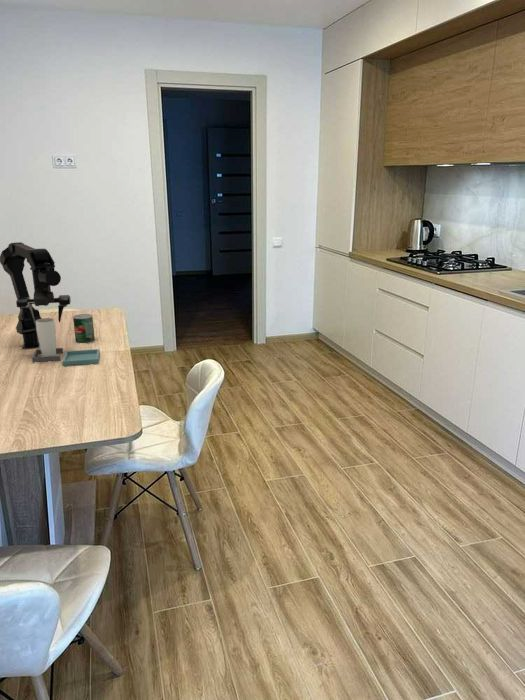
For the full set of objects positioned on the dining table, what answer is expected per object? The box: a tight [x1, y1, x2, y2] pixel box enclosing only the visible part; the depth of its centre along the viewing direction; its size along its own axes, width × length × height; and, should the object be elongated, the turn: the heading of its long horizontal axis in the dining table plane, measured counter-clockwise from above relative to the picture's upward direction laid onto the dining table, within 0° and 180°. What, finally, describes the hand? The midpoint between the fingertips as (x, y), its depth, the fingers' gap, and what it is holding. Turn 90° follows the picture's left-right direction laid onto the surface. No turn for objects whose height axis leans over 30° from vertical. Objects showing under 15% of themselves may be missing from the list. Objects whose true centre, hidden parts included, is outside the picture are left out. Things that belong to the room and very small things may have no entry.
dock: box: [31, 347, 64, 364], centre depth 201 cm, size 11×10×2 cm
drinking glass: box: [36, 317, 58, 356], centre depth 199 cm, size 7×7×15 cm
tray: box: [61, 348, 101, 367], centre depth 198 cm, size 13×13×2 cm
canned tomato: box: [72, 313, 96, 344], centre depth 221 cm, size 8×8×11 cm
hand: (46, 322), depth 199 cm, fingers open, 9 cm apart
